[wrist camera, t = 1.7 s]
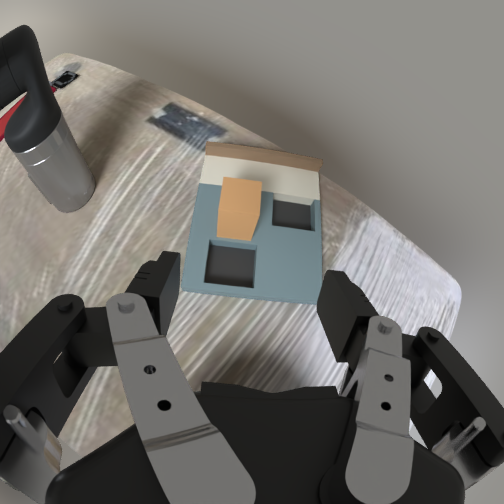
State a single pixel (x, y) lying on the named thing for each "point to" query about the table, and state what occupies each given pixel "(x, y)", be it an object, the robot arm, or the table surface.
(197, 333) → the table surface
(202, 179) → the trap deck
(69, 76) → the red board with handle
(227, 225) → the orange block
